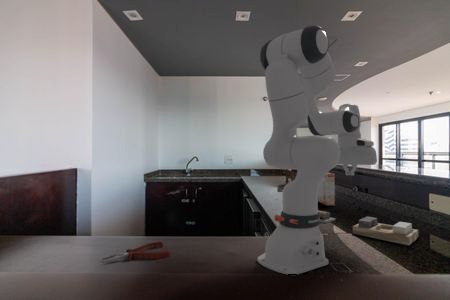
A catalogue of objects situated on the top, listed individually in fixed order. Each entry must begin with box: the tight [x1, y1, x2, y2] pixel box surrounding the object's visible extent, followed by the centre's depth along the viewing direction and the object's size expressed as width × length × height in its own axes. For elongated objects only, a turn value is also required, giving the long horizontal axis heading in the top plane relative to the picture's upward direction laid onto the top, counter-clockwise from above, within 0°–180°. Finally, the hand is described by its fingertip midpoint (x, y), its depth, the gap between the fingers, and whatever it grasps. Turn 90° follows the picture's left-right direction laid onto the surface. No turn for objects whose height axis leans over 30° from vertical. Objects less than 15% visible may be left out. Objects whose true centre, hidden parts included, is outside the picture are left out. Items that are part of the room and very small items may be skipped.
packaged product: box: [318, 209, 336, 224], centre depth 133 cm, size 18×5×10 cm
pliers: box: [101, 241, 171, 263], centre depth 84 cm, size 12×20×3 cm, turn 119°
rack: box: [352, 216, 419, 246], centre depth 104 cm, size 13×20×6 cm
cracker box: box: [318, 172, 336, 207], centre depth 172 cm, size 14×6×21 cm, turn 1°
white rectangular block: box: [393, 221, 413, 236], centre depth 99 cm, size 9×4×4 cm, turn 132°
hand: (349, 175), depth 109 cm, fingers closed
